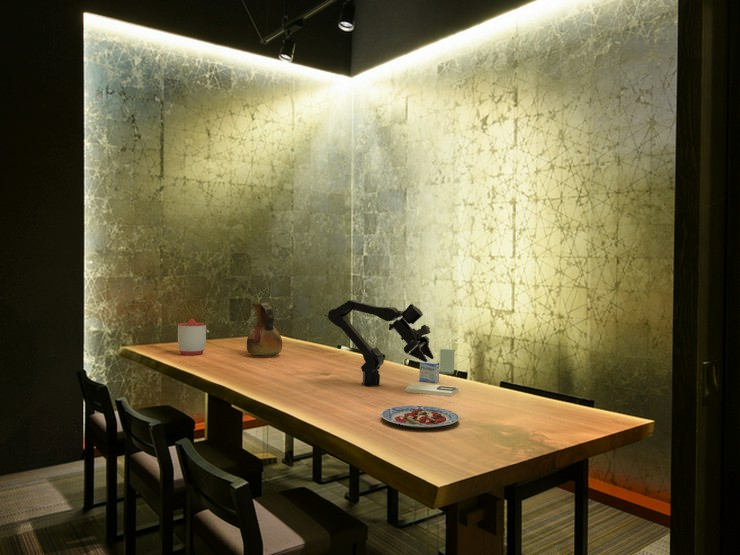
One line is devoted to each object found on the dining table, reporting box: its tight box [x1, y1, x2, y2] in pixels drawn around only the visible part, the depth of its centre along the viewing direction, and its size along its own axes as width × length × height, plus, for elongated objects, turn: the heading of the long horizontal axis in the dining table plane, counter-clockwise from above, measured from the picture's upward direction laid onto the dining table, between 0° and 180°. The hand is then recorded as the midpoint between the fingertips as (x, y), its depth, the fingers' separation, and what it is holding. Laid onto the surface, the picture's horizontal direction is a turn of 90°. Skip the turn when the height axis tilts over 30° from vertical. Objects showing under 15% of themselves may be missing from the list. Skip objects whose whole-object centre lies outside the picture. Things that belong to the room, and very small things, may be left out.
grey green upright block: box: [439, 347, 455, 375], centre depth 235 cm, size 5×4×10 cm
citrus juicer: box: [177, 318, 210, 357], centre depth 323 cm, size 16×17×20 cm
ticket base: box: [405, 382, 459, 397], centre depth 238 cm, size 19×12×2 cm, turn 68°
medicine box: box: [418, 360, 440, 384], centre depth 258 cm, size 8×4×9 cm, turn 62°
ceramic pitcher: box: [246, 302, 283, 356], centre depth 322 cm, size 20×20×30 cm
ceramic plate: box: [380, 405, 460, 429], centre depth 191 cm, size 26×26×3 cm
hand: (430, 360), depth 238 cm, fingers open, 9 cm apart
